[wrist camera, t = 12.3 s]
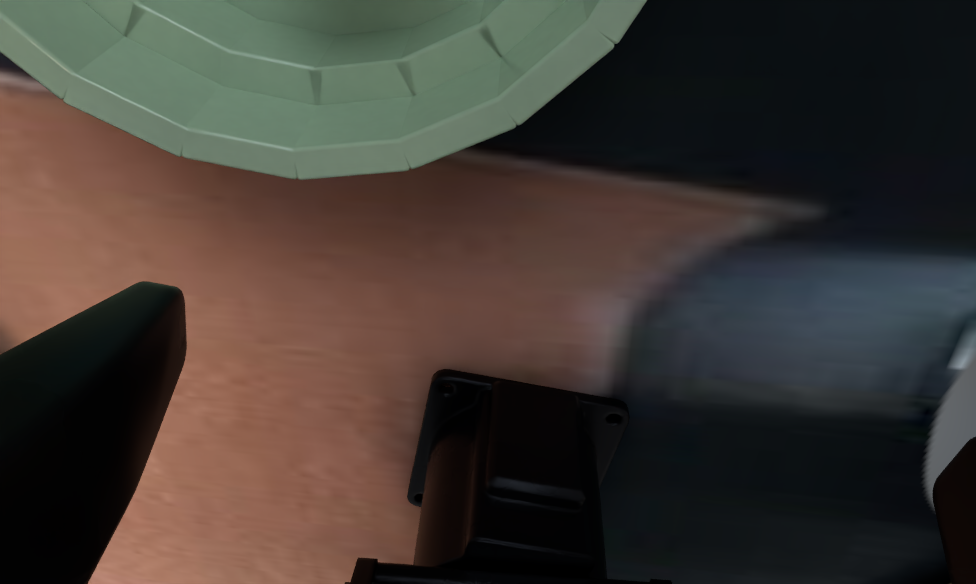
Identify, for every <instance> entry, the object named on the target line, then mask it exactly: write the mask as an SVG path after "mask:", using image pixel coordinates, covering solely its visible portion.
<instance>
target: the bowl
mask: <svg viewBox="0 0 976 584" xmlns="http://www.w3.org/2000/svg"><path fill="white" fill-rule="evenodd" d="M646 2H647V0H0V52H1V53H2V54H4V55H5V56H6V57H8V58H9V59H10V60H11V61H13V62H14V63H15V64H16V65H18V66H19V67H20V68H21V69H23V70H24V71H25V72H27V73H28V74H29V75H30V76H32V77H33V78H34V79H35V80H37V81H38V82H39V83H40V84H42V85H43V86H44V87H46V88H47V89H48V90H49V91H51V92H52V93H53V94H54V95H56V96H57V97H58V98H60V99H64V102H65V103H66V104H69V105H71V106H73V107H75V108H77V109H79V110H81V111H83V112H85V113H87V114H90V115H92V116H94V117H96V118H98V119H100V120H102V121H104V122H106V123H108V124H111V125H113V126H115V127H117V128H119V129H121V130H123V131H125V132H127V133H129V134H132V135H134V136H136V137H138V138H140V139H142V140H144V141H146V142H148V143H150V144H153V145H155V146H157V147H159V148H161V149H163V150H165V151H167V152H169V153H171V154H174V155H176V156H178V157H181V156H183V157H184V158H187V159H192V160H197V161H202V162H207V163H212V164H218V165H223V166H228V167H233V168H238V169H243V170H248V171H253V172H258V173H263V174H268V175H273V176H278V177H284V178H289V179H297V178H298V179H299V180H307V179H319V178H331V177H343V176H354V175H366V174H378V173H390V172H402V171H408V170H410V168H411V169H415V168H418V167H420V166H423V165H425V164H428V163H430V162H433V161H435V160H438V159H440V158H443V157H445V156H448V155H450V154H453V153H455V152H457V151H460V150H462V149H465V148H467V147H470V146H472V145H475V144H477V143H480V142H482V141H485V140H487V139H490V138H492V137H495V136H497V135H499V134H502V133H504V132H507V131H509V130H512V129H514V128H515V127H516V126H517V125H521V124H522V123H524V122H525V121H526V120H527V119H528V118H530V117H531V116H532V115H533V114H535V113H536V112H537V111H538V110H539V109H541V108H542V107H543V106H544V105H546V104H547V103H548V102H549V101H550V100H552V99H553V98H554V97H555V96H556V95H558V94H559V93H560V92H561V91H563V90H564V89H565V88H566V87H567V86H569V85H570V84H571V83H572V82H573V81H575V80H576V79H577V78H578V77H580V76H581V75H582V74H583V73H584V72H586V71H587V70H588V69H589V68H590V67H592V66H593V65H594V64H595V63H597V62H598V61H599V60H600V59H601V58H603V57H604V56H605V55H606V54H607V53H609V52H610V51H611V50H612V49H613V48H614V46H615V45H614V44H617V43H618V42H620V40H621V39H622V37H623V36H624V34H625V33H626V31H627V30H628V28H629V27H630V25H631V24H632V23H633V21H634V20H635V18H636V17H637V15H638V14H639V12H640V11H641V9H642V8H643V6H644V5H645V3H646Z"/></svg>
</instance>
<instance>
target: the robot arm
mask: <svg viewBox="0 0 976 584" xmlns="http://www.w3.org/2000/svg"><path fill="white" fill-rule="evenodd" d="M186 349H187V341H186V319H185V300H184V296H183V293H182V291H181V290H180V289H179V288H178V287H175V286H169V285H164V284H158V283H153V282H144V281H143V282H139V283H136V284H134V285H132V286H130V287H128V288H127V289H125V290H123V291H121V292H119V293H117V294H115V295H113V296H111V297H109V298H107V299H106V300H104V301H102V302H100V303H98V304H96V305H94V306H92V307H90V308H88V309H86V310H85V311H83V312H81V313H79V314H77V315H75V316H73V317H71V318H69V319H67V320H65V321H64V322H62V323H60V324H58V325H56V326H54V327H52V328H50V329H48V330H46V331H44V332H42V333H41V334H39V335H37V336H35V337H33V338H31V339H29V340H27V341H25V342H23V343H21V344H20V345H18V346H16V347H14V348H12V349H10V350H8V351H6V352H4V353H2V354H0V584H88V582H89V580H90V578H91V576H92V574H93V572H94V570H95V568H96V566H97V564H98V563H99V561H100V559H101V557H102V555H103V553H104V551H105V549H106V547H107V545H108V543H109V542H110V540H111V538H112V536H113V534H114V532H115V530H116V528H117V526H118V524H119V522H120V521H121V519H122V517H123V515H124V513H125V511H126V509H127V507H128V505H129V503H130V501H131V499H132V497H133V495H134V493H135V490H136V488H137V486H138V483H139V481H140V478H141V476H142V473H143V471H144V468H145V466H146V463H147V460H148V458H149V455H150V452H151V450H152V447H153V445H154V442H155V439H156V437H157V434H158V431H159V429H160V426H161V423H162V421H163V418H164V416H165V413H166V410H167V408H168V405H169V402H170V400H171V397H172V394H173V392H174V389H175V386H176V384H177V381H178V379H179V376H180V373H181V371H182V368H183V365H184V361H185V356H186ZM447 383H448V384H450V385H452V386H444V385H442V384H447ZM610 414H617V415H615V416H610ZM628 422H629V412H628V407H627V405H626V404H625V403H624V402H623V401H620V400H617V399H612V398H606V397H600V396H595V395H589V394H584V393H578V392H573V391H567V390H562V389H556V388H550V387H545V386H539V385H534V384H528V383H523V382H517V381H511V380H506V379H500V378H495V377H489V376H484V375H478V374H473V373H467V372H461V371H456V370H450V369H443V370H439V371H437V372H436V373H435V374H434V375H433V377H432V381H431V385H430V390H429V395H428V399H427V404H426V409H425V413H424V418H423V423H422V427H421V432H420V437H419V441H418V446H417V451H416V455H415V460H414V465H413V469H412V474H411V479H410V483H409V488H408V495H407V498H408V500H409V502H410V503H411V504H413V505H415V506H419V507H421V514H420V521H419V528H418V535H417V542H416V549H415V556H414V563H413V565H408V564H394V563H380V562H378V559H371V558H358V559H357V562H356V566H355V569H354V572H353V575H352V579H351V582H345V584H672V582H671V580H658V579H651V580H650V582H640V581H626V580H613V579H607V570H606V559H605V548H604V537H603V525H602V514H601V503H600V492H599V487H600V485H601V483H602V481H603V478H604V476H605V474H606V472H607V469H608V467H609V465H610V463H611V460H612V458H613V456H614V454H615V451H616V449H617V447H618V445H619V442H620V440H621V438H622V436H623V433H624V431H625V429H626V427H627V424H628ZM421 493H422V494H421ZM933 503H934V507H935V512H936V516H937V521H938V526H939V530H940V535H941V539H942V544H943V548H944V553H945V558H946V562H947V567H948V571H949V576H950V581H951V584H976V437H974V438H972V439H970V440H969V441H968V442H967V443H966V444H965V445H964V447H963V448H962V449H961V450H960V451H959V453H958V454H957V455H956V456H955V457H954V458H953V460H952V461H951V462H950V463H949V464H948V466H947V467H946V468H945V469H944V470H943V471H942V473H941V474H940V475H939V476H938V478H937V479H936V481H935V484H934V487H933Z"/></svg>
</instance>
